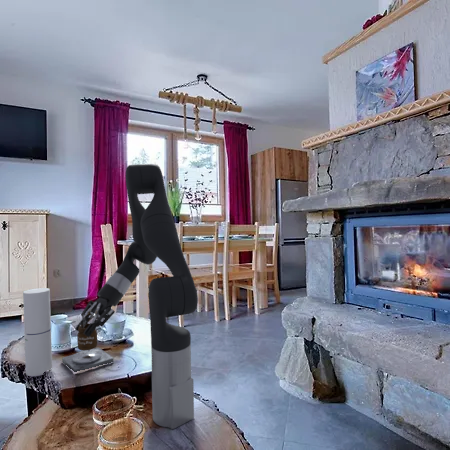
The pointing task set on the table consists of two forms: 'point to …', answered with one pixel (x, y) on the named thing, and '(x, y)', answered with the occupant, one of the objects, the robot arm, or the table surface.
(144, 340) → the table surface
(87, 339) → the utensil holder
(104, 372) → the table surface
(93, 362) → the flange
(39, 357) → the cylindrical container
